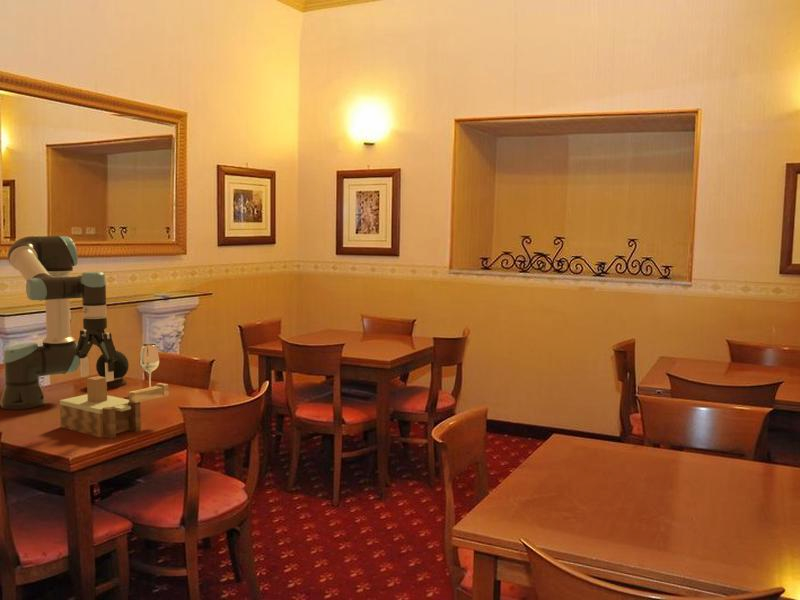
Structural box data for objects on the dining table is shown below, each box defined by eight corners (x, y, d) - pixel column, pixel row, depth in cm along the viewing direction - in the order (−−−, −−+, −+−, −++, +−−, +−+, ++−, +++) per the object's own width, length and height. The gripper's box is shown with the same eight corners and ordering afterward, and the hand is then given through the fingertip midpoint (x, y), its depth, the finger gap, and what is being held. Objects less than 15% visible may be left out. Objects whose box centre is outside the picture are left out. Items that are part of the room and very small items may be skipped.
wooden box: (60, 427, 261) (59, 399, 260) (96, 418, 273) (95, 391, 272) (108, 439, 248) (107, 410, 247) (143, 429, 259) (142, 401, 258)
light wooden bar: (128, 401, 258) (128, 390, 257) (160, 393, 270) (160, 382, 269) (136, 403, 256) (135, 391, 255) (168, 395, 267) (168, 384, 267)
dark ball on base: (132, 381, 334) (132, 348, 332) (124, 388, 321) (123, 353, 319) (102, 381, 333) (101, 348, 331) (92, 388, 320) (91, 353, 318)
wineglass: (163, 392, 314) (162, 344, 312) (146, 395, 309) (145, 347, 306) (153, 389, 320) (152, 342, 317) (136, 392, 314) (135, 344, 312)
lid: (59, 405, 260) (58, 377, 259) (95, 397, 272) (94, 370, 271) (107, 417, 247) (107, 387, 246) (143, 408, 258) (142, 379, 257)
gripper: (62, 315, 261) (65, 376, 263) (108, 321, 247) (110, 384, 249) (81, 313, 267) (84, 372, 269) (127, 318, 254) (129, 380, 256)
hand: (97, 378), depth 259 cm, fingers open, 13 cm apart
